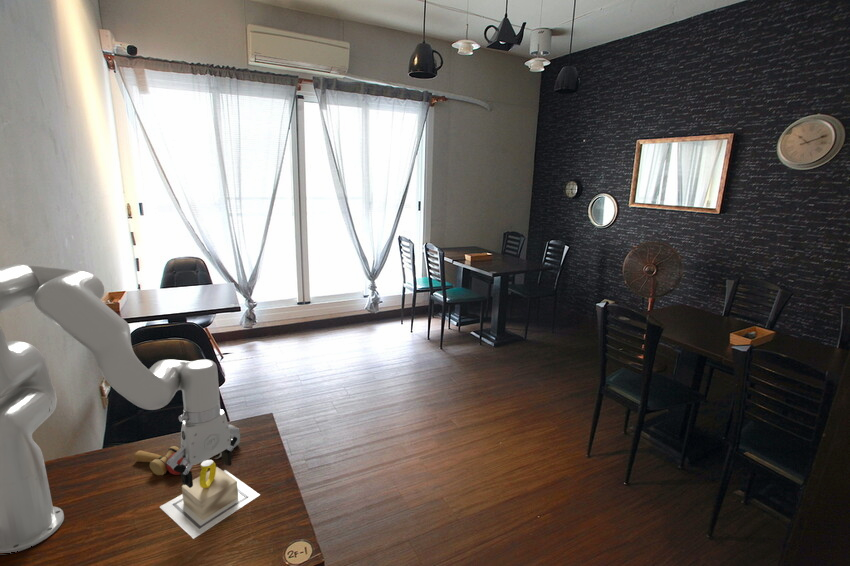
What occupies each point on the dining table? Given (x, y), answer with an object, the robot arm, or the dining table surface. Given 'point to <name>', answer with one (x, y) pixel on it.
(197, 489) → the birch block
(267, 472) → the dining table surface
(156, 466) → the kendama
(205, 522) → the mat
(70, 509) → the dining table surface
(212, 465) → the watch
